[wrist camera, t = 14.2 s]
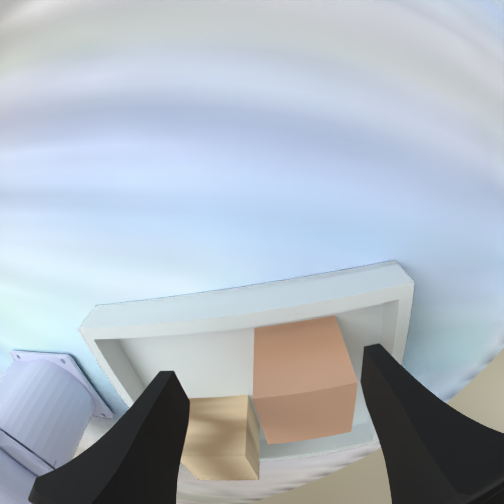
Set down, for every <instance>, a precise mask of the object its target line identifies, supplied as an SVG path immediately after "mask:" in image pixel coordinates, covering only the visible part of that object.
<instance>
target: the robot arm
mask: <svg viewBox="0 0 504 504" xmlns="http://www.w3.org/2000/svg"><path fill="white" fill-rule="evenodd" d="M10 354H11V356H12V358H13V359H14V362H13V363H12V364H11V366H10V367H9V368H8V370H7V371H6V372H5V374H4V375H3V376H2V378H1V379H0V504H176V491H177V478H178V471H179V466H180V461H181V456H182V452H183V447H184V443H185V438H186V434H187V429H188V424H189V414H190V400H189V399H188V397H187V395H186V393H185V391H184V389H183V387H182V386H181V384H180V382H179V380H178V378H177V376H176V374H175V372H174V371H159V373H158V374H157V375H156V376H155V377H154V379H153V380H152V381H151V383H150V384H149V385H148V386H147V388H146V389H145V390H144V391H143V393H142V394H141V395H140V396H139V398H138V399H137V400H136V401H135V402H134V404H133V405H132V406H131V407H130V408H129V410H128V411H127V412H126V413H125V414H124V415H123V416H122V417H121V418H120V419H119V421H118V422H117V423H116V424H115V425H114V426H113V427H112V428H111V429H110V430H109V431H108V432H107V433H106V434H105V435H104V436H103V437H101V438H100V439H99V440H98V441H97V442H96V443H95V444H93V445H92V446H91V447H89V448H88V449H87V450H85V451H84V452H83V453H81V454H80V455H79V456H77V457H76V458H74V459H73V457H74V454H75V452H76V449H77V447H78V445H79V442H80V440H81V438H82V436H83V433H84V431H85V429H86V427H87V424H88V422H89V420H90V418H91V416H96V417H103V418H113V416H114V414H113V413H112V412H111V410H110V409H109V408H108V407H107V405H106V404H105V403H104V402H103V400H102V399H101V398H100V396H99V395H98V394H97V392H96V391H95V390H94V388H93V387H92V386H91V384H90V383H89V381H88V380H87V379H86V377H85V376H84V374H83V373H82V371H81V370H80V368H79V367H78V365H77V364H76V362H75V361H74V359H73V358H72V357H71V356H70V355H68V354H53V353H38V352H26V351H16V350H12V351H11V352H10ZM360 382H361V387H362V391H363V395H364V399H365V403H366V406H367V409H368V412H369V414H370V417H371V420H372V423H373V425H374V428H375V431H376V434H377V436H378V439H379V442H380V445H381V448H382V451H383V454H384V458H385V462H386V467H387V473H388V478H389V484H390V491H391V498H392V504H504V433H501V432H498V431H496V430H493V429H491V428H488V427H486V426H484V425H482V424H480V423H478V422H476V421H474V420H472V419H470V418H468V417H467V416H465V415H463V414H461V413H460V412H458V411H457V410H455V409H453V408H452V407H450V406H449V405H447V404H446V403H445V402H443V401H442V400H440V399H439V398H438V397H437V396H435V395H434V394H433V393H432V392H430V391H429V390H428V389H427V388H425V387H424V386H423V385H422V384H421V383H420V382H418V381H417V380H416V379H415V378H414V377H413V376H412V375H411V374H410V373H409V372H408V371H407V370H406V369H405V368H403V367H402V366H401V365H400V364H399V363H398V362H397V361H396V360H395V359H394V358H393V356H392V355H391V354H390V353H389V352H388V351H387V350H386V349H385V348H384V347H383V346H382V345H381V344H380V343H377V344H373V345H369V346H364V350H363V361H362V371H361V380H360Z"/></svg>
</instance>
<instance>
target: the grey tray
mask: <svg viewBox="0 0 504 504" xmlns="http://www.w3.org/2000/svg"><path fill="white" fill-rule="evenodd" d="M413 292H414V281H413V280H412V279H411V278H410V276H409V275H408V274H407V273H406V272H405V271H404V270H403V269H402V268H401V266H400V265H399V264H398V263H397V262H396V261H395V260H393V261H388V262H382V263H377V264H372V265H367V266H362V267H356V268H351V269H345V270H340V271H334V272H329V273H323V274H317V275H312V276H306V277H300V278H294V279H288V280H282V281H276V282H269V283H263V284H257V285H250V286H244V287H237V288H230V289H223V290H217V291H210V292H202V293H195V294H188V295H180V296H173V297H165V298H157V299H149V300H141V301H132V302H123V303H114V304H105V305H96V306H95V307H94V308H93V310H92V311H91V312H90V313H89V315H88V316H87V317H86V319H85V320H84V321H83V322H82V324H81V325H80V326H79V328H78V330H79V332H80V334H81V336H82V337H83V339H84V341H85V342H86V344H87V346H88V348H89V349H90V351H91V353H92V354H93V356H94V357H95V359H96V361H97V362H98V364H99V365H100V367H101V369H102V370H103V372H104V373H105V375H106V376H107V378H108V379H109V381H110V382H111V384H112V385H113V386H114V388H115V389H116V391H117V392H118V393H119V395H120V396H121V398H122V399H123V400H124V402H125V403H126V404H127V406H128V407H129V408H130V407H131V406H132V405H133V404H134V402H135V401H136V400H137V399H138V398H139V396H140V395H141V394H142V393H143V391H144V390H145V389H146V388H147V386H148V385H149V384H150V383H151V381H152V380H153V379H154V377H155V376H156V375H157V374H158V373H159V371H174V372H175V374H176V376H177V378H178V380H179V382H180V384H181V386H182V387H183V389H184V391H185V393H186V395H187V397H188V398H208V397H226V396H239V395H248V396H249V399H250V402H251V405H252V407H253V410H254V413H255V415H256V418H257V421H258V423H259V426H260V440H259V462H268V461H279V460H289V459H297V458H305V457H311V456H318V455H324V454H329V453H334V452H339V451H344V450H349V449H353V448H357V447H362V446H366V445H369V444H373V443H377V442H379V439H378V436H377V434H376V431H375V428H374V425H373V423H372V420H371V417H370V414H369V412H368V409H367V406H366V403H365V399H364V395H363V391H362V387H361V382H360V380H361V371H362V361H363V350H364V346H369V345H373V344H377V343H380V344H381V345H382V346H383V347H384V348H385V349H386V350H387V351H388V352H389V353H390V354H391V355H392V356H393V358H394V359H395V360H396V361H397V362H398V363H399V364H400V365H401V366H402V361H403V356H404V351H405V346H406V340H407V335H408V329H409V322H410V316H411V308H412V301H413ZM334 315H335V317H336V320H337V323H338V326H339V329H340V331H341V334H342V337H343V340H344V343H345V346H346V348H347V351H348V354H349V357H350V360H351V363H352V366H353V369H354V372H355V375H356V378H357V381H358V385H357V394H356V402H355V409H354V417H353V423H352V430H351V432H347V433H343V434H338V435H333V436H327V437H322V438H316V439H309V440H303V441H295V442H287V443H278V444H268V443H267V440H266V438H265V435H264V432H263V429H262V426H261V423H260V420H259V417H258V414H257V411H256V408H255V405H254V402H253V364H254V328H259V327H266V326H273V325H280V324H287V323H293V322H299V321H306V320H311V319H317V318H323V317H328V316H334Z"/></svg>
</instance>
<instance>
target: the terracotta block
mask: <svg viewBox="0 0 504 504" xmlns="http://www.w3.org/2000/svg"><path fill="white" fill-rule="evenodd" d="M357 385H358V381H357V378H356V375H355V372H354V369H353V366H352V363H351V360H350V357H349V354H348V351H347V348H346V346H345V343H344V340H343V337H342V334H341V331H340V329H339V326H338V323H337V320H336V317H335V315H334V316H328V317H323V318H317V319H311V320H306V321H299V322H293V323H287V324H280V325H273V326H266V327H259V328H254V364H253V402H254V405H255V408H256V411H257V414H258V417H259V420H260V423H261V426H262V429H263V432H264V435H265V438H266V440H267V443H268V444H278V443H287V442H295V441H303V440H309V439H316V438H322V437H327V436H333V435H338V434H343V433H347V432H351V430H352V423H353V417H354V409H355V402H356V394H357Z"/></svg>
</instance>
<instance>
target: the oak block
mask: <svg viewBox="0 0 504 504" xmlns="http://www.w3.org/2000/svg"><path fill="white" fill-rule="evenodd" d="M188 399H189V400H190V414H189V424H188V429H187V434H186V438H185V443H184V447H183V452H182V456H181V461H180V462H181V463H182V464H183V465H184V466H185V467H186V468H187V469H188V470H189V471H190V472H191V473H192V474H193V475H194V476H195V477H196V478H197V479H198V480H259V440H260V426H259V423H258V421H257V418H256V415H255V413H254V410H253V407H252V405H251V402H250V399H249V396H248V395H239V396H226V397H208V398H188Z"/></svg>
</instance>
